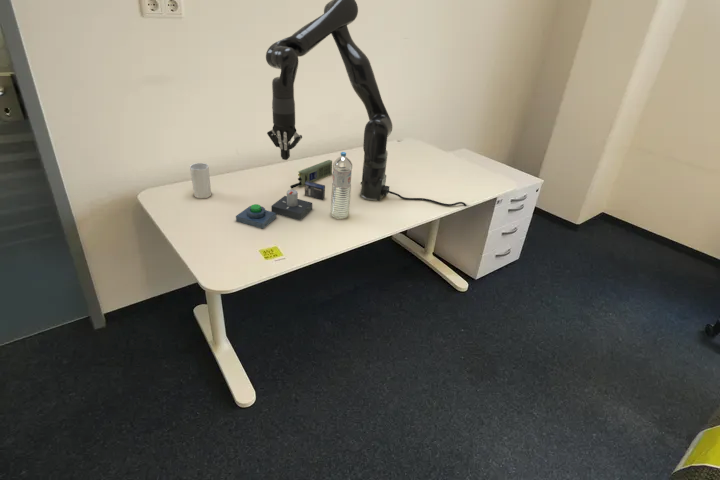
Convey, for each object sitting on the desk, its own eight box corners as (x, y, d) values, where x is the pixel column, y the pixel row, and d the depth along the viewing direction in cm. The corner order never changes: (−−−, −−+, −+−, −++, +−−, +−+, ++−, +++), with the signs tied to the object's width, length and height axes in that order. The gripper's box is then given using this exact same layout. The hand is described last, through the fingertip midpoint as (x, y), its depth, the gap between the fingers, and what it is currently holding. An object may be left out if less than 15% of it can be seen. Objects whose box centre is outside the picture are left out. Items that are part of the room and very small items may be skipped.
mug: (215, 195, 167) (212, 167, 161) (199, 200, 163) (195, 171, 157) (202, 186, 173) (198, 159, 167) (186, 191, 169) (182, 162, 162)
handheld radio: (333, 175, 194) (294, 191, 176) (327, 173, 196) (288, 189, 178) (333, 160, 191) (293, 176, 173) (327, 159, 192) (288, 174, 175)
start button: (263, 209, 153) (262, 205, 152) (257, 214, 150) (257, 209, 150) (254, 207, 154) (254, 203, 153) (248, 211, 151) (248, 207, 150)
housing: (276, 218, 156) (276, 208, 154) (262, 229, 149) (262, 219, 147) (250, 210, 159) (249, 201, 157) (236, 221, 152) (235, 211, 150)
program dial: (289, 200, 162) (289, 188, 160) (299, 203, 161) (299, 190, 159) (285, 205, 159) (284, 192, 156) (294, 207, 158) (294, 194, 155)
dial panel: (312, 209, 164) (312, 202, 163) (300, 220, 156) (300, 213, 155) (284, 202, 167) (284, 195, 166) (271, 212, 159) (271, 205, 158)
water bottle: (341, 221, 158) (346, 157, 145) (326, 215, 161) (329, 152, 148) (351, 214, 163) (356, 152, 150) (337, 209, 166) (340, 147, 153)
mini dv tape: (304, 195, 174) (305, 182, 171) (306, 194, 175) (306, 180, 172) (322, 200, 172) (323, 186, 168) (324, 198, 173) (325, 185, 170)
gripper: (306, 110, 145) (306, 158, 154) (271, 105, 148) (274, 152, 157) (296, 115, 139) (297, 165, 148) (260, 109, 142) (263, 159, 151)
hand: (285, 159), depth 152 cm, fingers closed
